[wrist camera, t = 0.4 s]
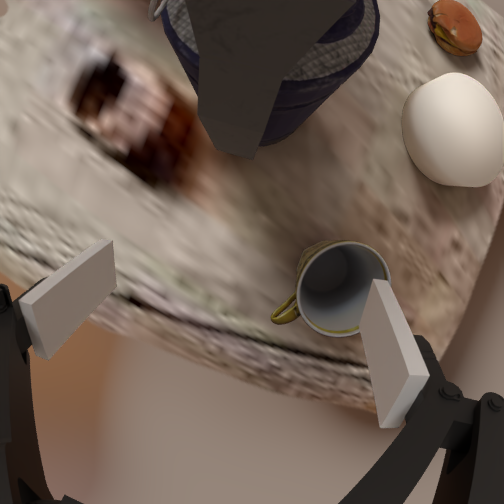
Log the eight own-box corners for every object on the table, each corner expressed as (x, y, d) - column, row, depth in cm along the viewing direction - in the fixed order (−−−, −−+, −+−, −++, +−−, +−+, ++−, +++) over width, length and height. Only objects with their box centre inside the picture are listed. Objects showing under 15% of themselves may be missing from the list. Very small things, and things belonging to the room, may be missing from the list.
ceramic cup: (341, 214, 39) (372, 223, 30) (369, 282, 41) (402, 309, 31) (248, 260, 40) (250, 285, 30) (282, 326, 42) (293, 366, 32)
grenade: (223, 48, 35) (197, -145, 5) (315, 74, 36) (434, -83, 6) (188, 148, 37) (51, 62, 8) (284, 176, 38) (406, 154, 9)
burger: (474, 29, 34) (490, 21, 29) (468, 68, 35) (485, 61, 31) (427, -4, 33) (440, -16, 28) (418, 33, 34) (432, 21, 30)
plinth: (399, 72, 36) (419, 59, 30) (478, 96, 36) (502, 89, 30) (401, 179, 39) (424, 179, 33) (481, 191, 39) (506, 193, 33)
